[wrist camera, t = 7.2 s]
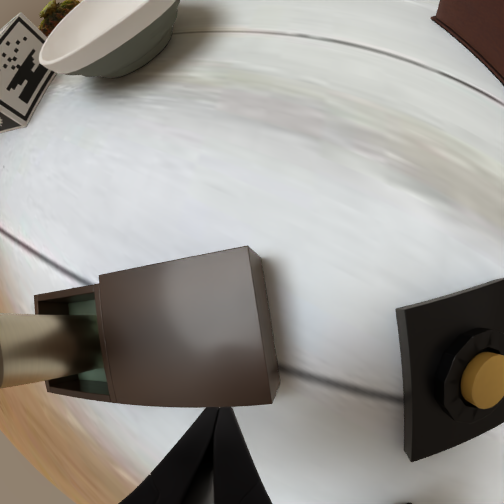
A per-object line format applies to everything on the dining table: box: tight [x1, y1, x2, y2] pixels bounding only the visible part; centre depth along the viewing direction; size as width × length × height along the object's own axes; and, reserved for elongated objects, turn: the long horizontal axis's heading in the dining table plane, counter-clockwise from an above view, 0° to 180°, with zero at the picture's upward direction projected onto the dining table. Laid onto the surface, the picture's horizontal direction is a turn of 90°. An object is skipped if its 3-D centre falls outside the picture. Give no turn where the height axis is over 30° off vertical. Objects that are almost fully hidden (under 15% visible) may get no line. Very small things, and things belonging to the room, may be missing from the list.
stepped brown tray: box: [34, 246, 280, 407], centre depth 20 cm, size 9×20×4 cm, turn 99°
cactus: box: [38, 0, 80, 38], centre depth 33 cm, size 17×16×10 cm
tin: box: [0, 313, 104, 388], centre depth 16 cm, size 5×5×13 cm
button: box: [461, 352, 504, 409], centre depth 12 cm, size 4×4×2 cm
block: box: [0, 12, 56, 133], centre depth 28 cm, size 15×15×15 cm
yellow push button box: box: [396, 278, 504, 462], centre depth 15 cm, size 12×10×4 cm
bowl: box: [39, 0, 180, 78], centre depth 25 cm, size 20×20×10 cm
